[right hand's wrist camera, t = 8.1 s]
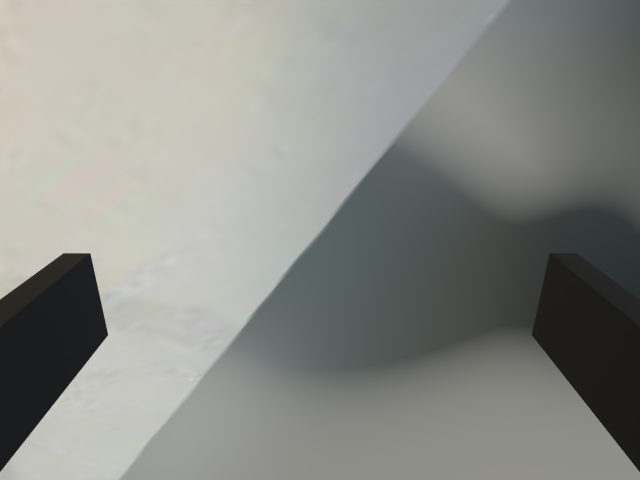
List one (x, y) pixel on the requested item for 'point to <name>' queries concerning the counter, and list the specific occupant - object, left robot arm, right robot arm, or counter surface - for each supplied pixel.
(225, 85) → the counter surface
